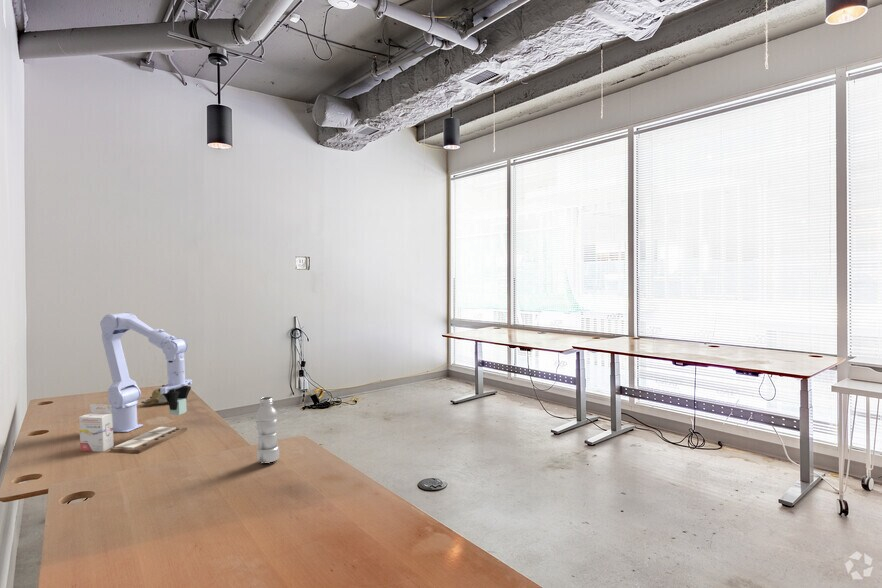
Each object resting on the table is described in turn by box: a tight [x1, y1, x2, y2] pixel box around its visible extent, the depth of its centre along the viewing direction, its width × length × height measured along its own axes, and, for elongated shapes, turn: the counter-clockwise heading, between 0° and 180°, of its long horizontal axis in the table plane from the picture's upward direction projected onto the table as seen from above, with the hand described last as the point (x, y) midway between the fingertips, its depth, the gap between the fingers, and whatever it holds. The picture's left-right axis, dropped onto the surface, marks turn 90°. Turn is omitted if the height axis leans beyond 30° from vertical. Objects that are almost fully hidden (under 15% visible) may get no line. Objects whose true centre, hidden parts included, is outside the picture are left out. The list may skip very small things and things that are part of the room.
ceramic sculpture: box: [140, 384, 168, 405], centre depth 222 cm, size 11×9×15 cm
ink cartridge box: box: [78, 403, 115, 453], centre depth 164 cm, size 9×5×15 cm, turn 84°
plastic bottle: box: [255, 396, 280, 463], centre depth 151 cm, size 6×7×20 cm
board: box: [109, 425, 188, 454], centre depth 173 cm, size 11×23×1 cm, turn 170°
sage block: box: [168, 398, 188, 416], centre depth 181 cm, size 4×4×5 cm
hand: (177, 407), depth 181 cm, fingers closed on sage block, 4 cm apart
